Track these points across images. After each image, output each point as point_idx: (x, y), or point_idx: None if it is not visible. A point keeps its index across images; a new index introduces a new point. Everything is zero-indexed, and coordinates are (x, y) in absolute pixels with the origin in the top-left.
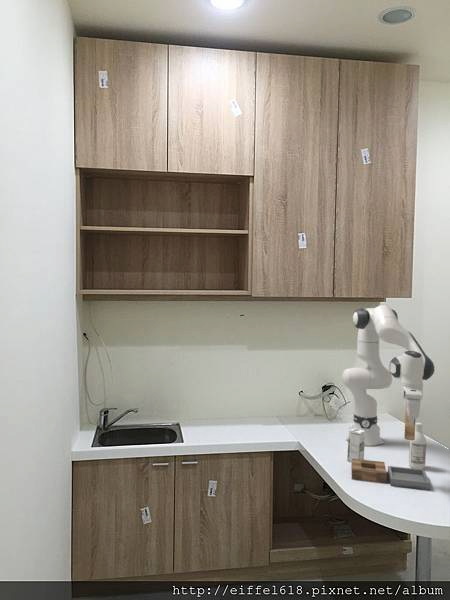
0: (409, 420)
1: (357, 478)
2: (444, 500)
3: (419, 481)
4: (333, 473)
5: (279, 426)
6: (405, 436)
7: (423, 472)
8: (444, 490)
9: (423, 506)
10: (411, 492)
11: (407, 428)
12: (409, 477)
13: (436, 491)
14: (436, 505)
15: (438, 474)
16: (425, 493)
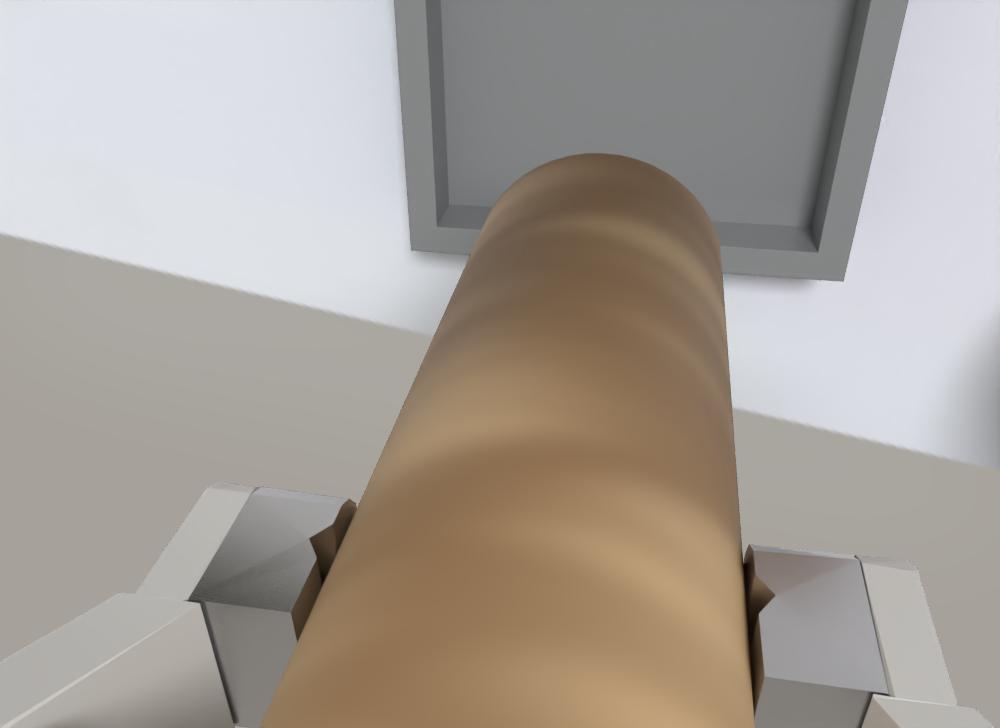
0: (93, 619)
1: None
2: (246, 291)
3: (416, 145)
4: None
5: None
6: (527, 192)
7: (740, 250)
8: None
9: (12, 77)
10: (301, 11)
11: (426, 355)
12: (689, 55)
13: (430, 273)
14: (101, 200)
15: (922, 400)
16: (336, 158)
